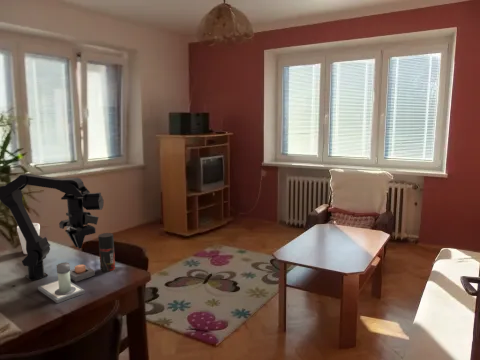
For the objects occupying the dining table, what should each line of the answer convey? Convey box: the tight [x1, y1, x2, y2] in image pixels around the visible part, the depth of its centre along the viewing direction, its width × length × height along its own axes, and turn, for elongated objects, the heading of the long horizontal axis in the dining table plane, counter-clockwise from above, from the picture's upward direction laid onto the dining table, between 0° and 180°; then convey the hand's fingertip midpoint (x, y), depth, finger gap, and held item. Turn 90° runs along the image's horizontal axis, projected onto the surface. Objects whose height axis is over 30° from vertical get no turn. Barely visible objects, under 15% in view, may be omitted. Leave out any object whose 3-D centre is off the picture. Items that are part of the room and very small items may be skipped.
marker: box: [56, 261, 72, 293], centre depth 136 cm, size 4×4×10 cm
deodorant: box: [97, 232, 116, 273], centre depth 159 cm, size 6×6×15 cm
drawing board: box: [37, 279, 86, 304], centre depth 139 cm, size 16×10×1 cm, turn 50°
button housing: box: [70, 265, 96, 282], centre depth 153 cm, size 8×8×2 cm
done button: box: [74, 264, 86, 275], centre depth 153 cm, size 4×4×2 cm
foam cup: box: [16, 222, 41, 255], centre depth 179 cm, size 10×9×13 cm
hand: (78, 247), depth 151 cm, fingers open, 2 cm apart
